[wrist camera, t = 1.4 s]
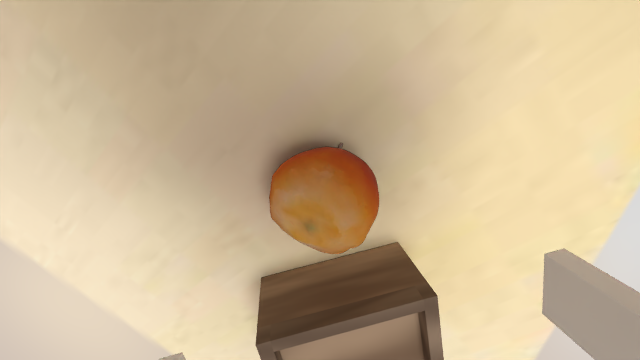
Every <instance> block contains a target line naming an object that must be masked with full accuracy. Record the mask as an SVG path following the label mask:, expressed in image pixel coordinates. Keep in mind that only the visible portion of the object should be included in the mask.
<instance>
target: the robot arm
mask: <svg viewBox="0 0 640 360" xmlns="http://www.w3.org/2000/svg"><path fill="white" fill-rule="evenodd" d="M542 314H543V315H545V316H546V317H547V318H548V319H549V320H550V321H551V322H553V323H554V324H555V325H556V326H557V327H559V329H561V330H562V331H563V332H564V333H565V334H566V335H567V336H569V337H570V338H571V339H572V340H573V341H574V342H575V343H576V344H578V345H579V346H580V347H581V348H582V349H583V350H585V351H586V352H587V353H588V354H589V355H590V356H591V357H592V358H594V359H595V360H640V293H639V292H637V291H636V290H634V289H632V288H631V287H629V286H627V285H626V284H624V283H622V282H620V281H619V280H617V279H615V278H614V277H612V276H610V275H609V274H607V273H605V272H603V271H602V270H600V269H598V268H597V267H595V266H593V265H591V264H590V263H588V262H586V261H585V260H583V259H581V258H580V257H578V256H576V255H574V254H573V253H571V252H569V251H568V250H566V249H561V250H557V251H553V252H550V253H546V254H545V255H544V282H543V309H542ZM159 360H186V359H185V357H184V355H183V353H179V354H175V355H171V356H168V357H164V358H160V359H159Z"/></svg>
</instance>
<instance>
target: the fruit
mask: <svg viewBox="0 0 640 360" xmlns="http://www.w3.org/2000/svg"><path fill="white" fill-rule="evenodd" d="M342 145H343V143H340V145H339V147H338V148H333V147H321V148H315V149H311V150H308V151H304V152H301V153H299V154H297V155H295V156H293V157H292V158H290V159H288V160H287V161H285V162H284V163H283V164H281V165H280V167H279V168H278V169H277V171H276V172H275V173H274V174H273V176H272V181H271V189H270V195H269V199H270V213H271V218H272V219H273V220H274V221H275V222H276V223H277V224H278V225H279V226H280V227H281V229H282V230H283V231H285V232H286V233H287V234H289V235H290V236H291V237H293V238H294V239H296V240H297V241H299V242H301V243H303V244H305V245H307V246H309V247H311V248H313V249H316V250H318V251H320V252H324V253H330V254H340V253H343V252H345V251H347V250H348V249H350V248H354V247H357V246H359V245H360V244H362V243H363V241H364V240H365V238H366V235H367V233H368V232H369V230H370V228H371V226H372V224H373V222H374V220H375V218H376V216H377V213H378V207H379V192H378V186H377V182H376V178H375V175H374V173H373V172H372V170H371V169H370V167H369V166H368V165H367V164H366V163H365V162H364V161H363V160H361V159H360V158H359V157H357V156H355V155H354V154H352V153H350V152H348V151H346V150H343V149H342Z"/></svg>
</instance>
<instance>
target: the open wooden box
mask: <svg viewBox="0 0 640 360" xmlns="http://www.w3.org/2000/svg"><path fill="white" fill-rule="evenodd" d="M256 347H257V350H258V352H259V355H260V358H261V360H444V358H443V348H442V338H441V328H440V318H439V308H438V298H437V295H436V293H435V292H434V291H433V289H432V288H431V287H430V285H429V284H428V282H427V281H426V280H425V278H424V277H423V276H422V274H421V273H420V272H419V270H418V269H417V267H416V266H415V265H414V263H413V262H412V261H411V259H410V258H409V257H408V255H407V254H406V253H405V251H404V250H403V248H402V247H401V246H400V244H399V243H398V242H397V243H393V244H389V245H385V246H382V247H378V248H374V249H370V250H366V251H362V252H358V253H355V254H351V255H347V256H343V257H339V258H335V259H331V260H328V261H324V262H320V263H316V264H312V265H308V266H305V267H301V268H297V269H293V270H289V271H285V272H281V273H278V274H274V275H270V276H266V277H262V278H261V288H260V300H259V312H258V324H257V336H256Z"/></svg>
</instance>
